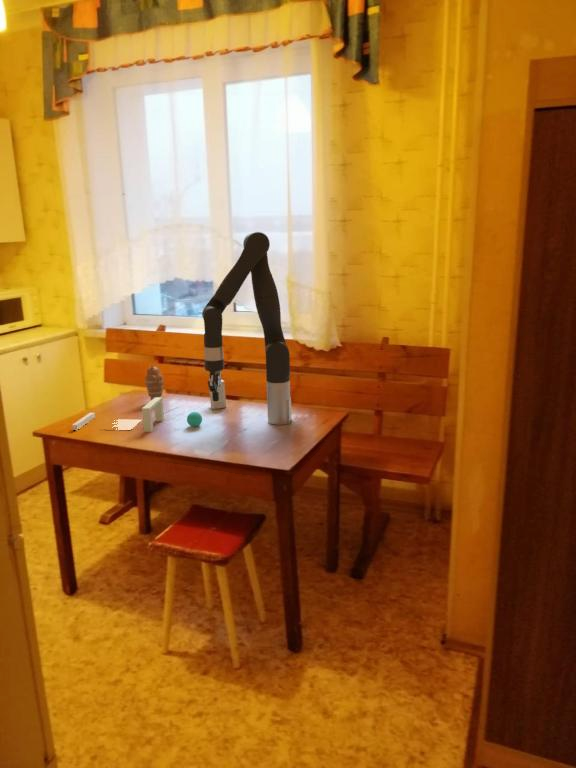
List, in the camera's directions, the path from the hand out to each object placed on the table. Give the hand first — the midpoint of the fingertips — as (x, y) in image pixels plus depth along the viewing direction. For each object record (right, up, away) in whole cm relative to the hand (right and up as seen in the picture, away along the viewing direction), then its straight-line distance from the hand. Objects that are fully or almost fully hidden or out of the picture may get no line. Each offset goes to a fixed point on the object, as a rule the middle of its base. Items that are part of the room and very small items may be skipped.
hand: (215, 400), depth 235 cm
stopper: (-55, -10, +11) cm, 57 cm away
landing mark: (-40, -10, +8) cm, 42 cm away
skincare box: (-2, -4, +29) cm, 29 cm away
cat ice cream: (-32, -3, +37) cm, 48 cm away
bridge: (-26, -10, +6) cm, 28 cm away
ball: (-9, -8, +3) cm, 12 cm away
